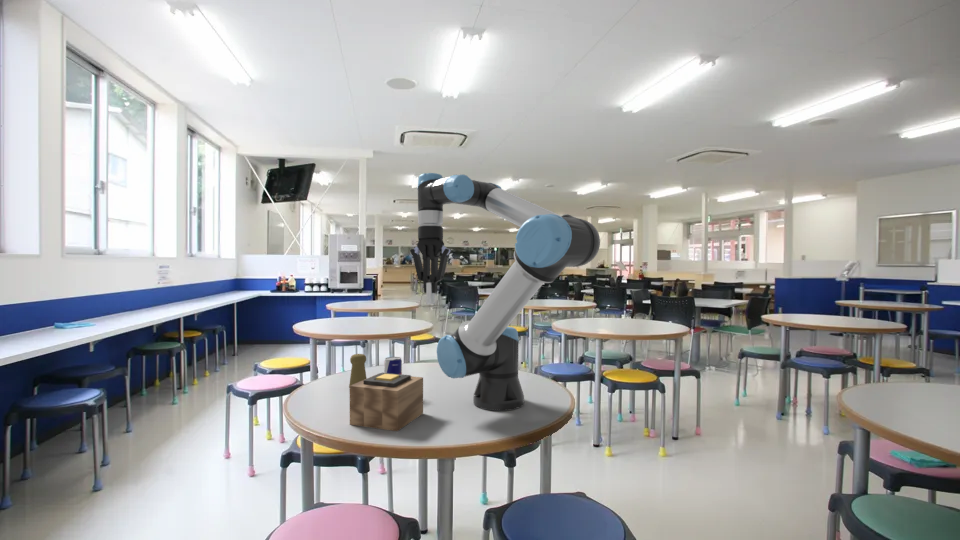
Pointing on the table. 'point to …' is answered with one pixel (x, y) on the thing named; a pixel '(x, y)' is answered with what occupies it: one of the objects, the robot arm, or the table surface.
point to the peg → (387, 377)
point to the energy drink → (393, 365)
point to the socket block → (386, 402)
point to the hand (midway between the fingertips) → (430, 303)
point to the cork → (357, 368)
